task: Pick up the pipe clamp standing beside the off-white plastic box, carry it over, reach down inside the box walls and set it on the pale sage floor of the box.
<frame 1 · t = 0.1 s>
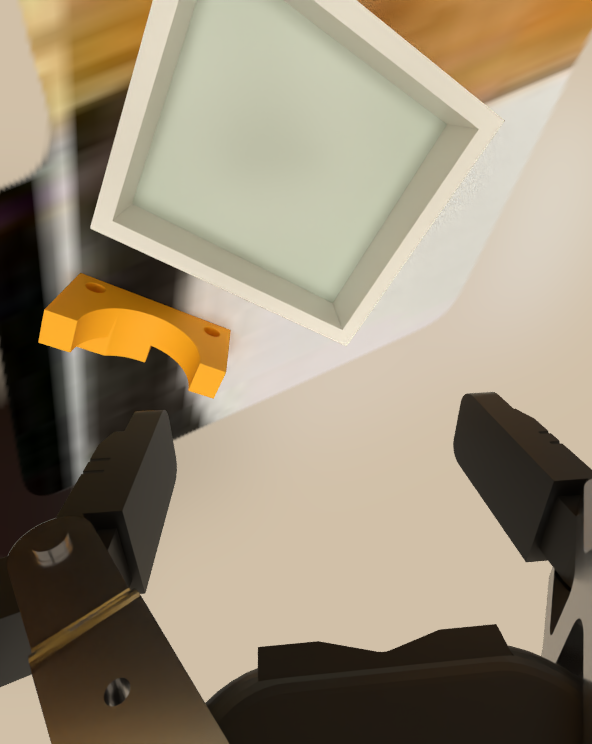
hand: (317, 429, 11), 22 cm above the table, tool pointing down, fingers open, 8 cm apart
pipe clamp: (153, 323, 34), on the table
walled box: (285, 162, 27), on the table
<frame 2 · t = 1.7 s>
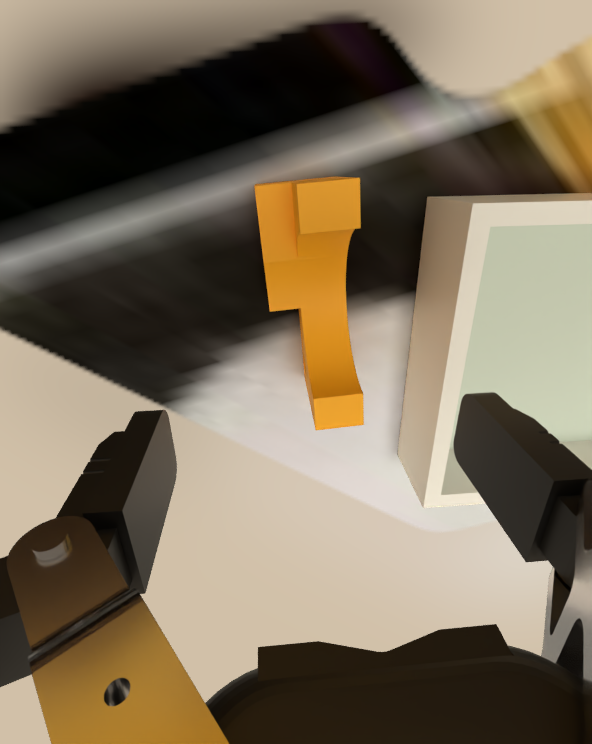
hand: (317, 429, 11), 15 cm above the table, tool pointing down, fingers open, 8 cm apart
pipe clamp: (303, 287, 25), on the table
walled box: (526, 339, 27), on the table
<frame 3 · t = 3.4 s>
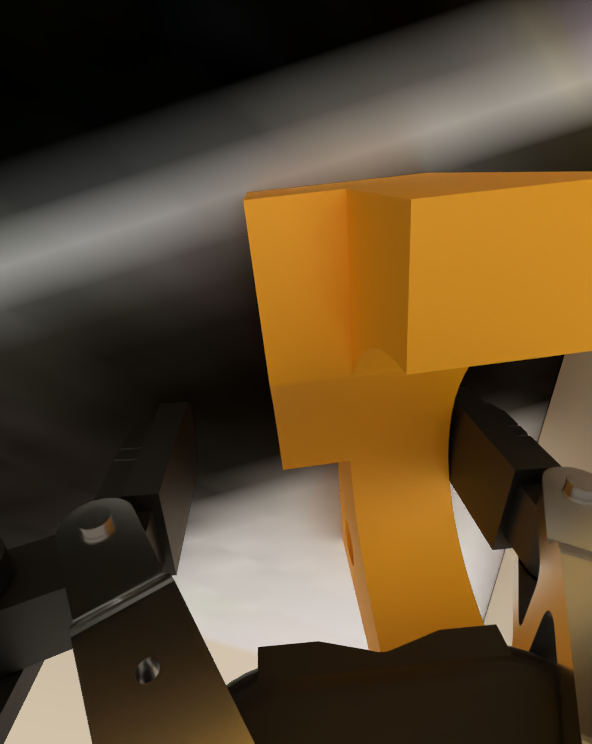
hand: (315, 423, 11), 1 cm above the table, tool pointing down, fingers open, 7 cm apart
pipe clamp: (345, 393, 13), on the table, touching gripper
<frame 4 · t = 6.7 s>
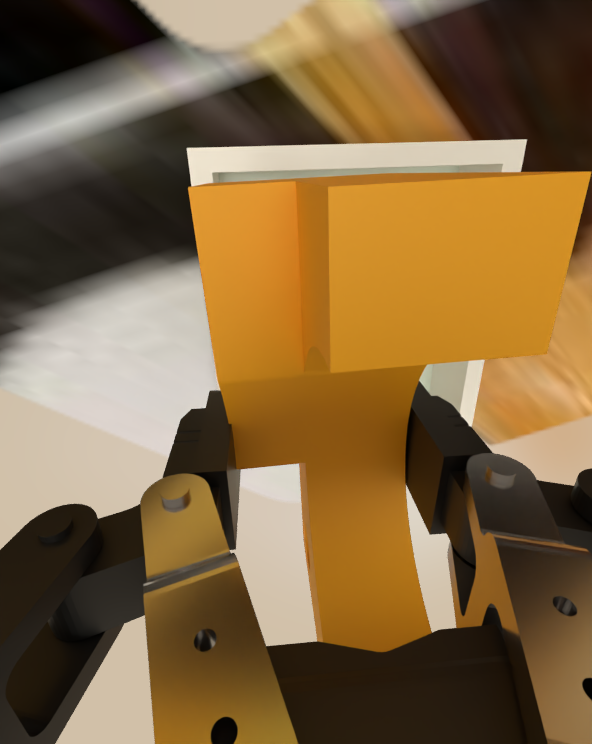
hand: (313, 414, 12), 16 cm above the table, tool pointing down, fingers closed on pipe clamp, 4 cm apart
pipe clamp: (308, 394, 12), point 16 cm above the table, touching gripper
walled box: (336, 301, 28), on the table
when the fingers open (3 cm above the table, at t = 9.8 s): pipe clamp drops 1 cm, resting on walled box.
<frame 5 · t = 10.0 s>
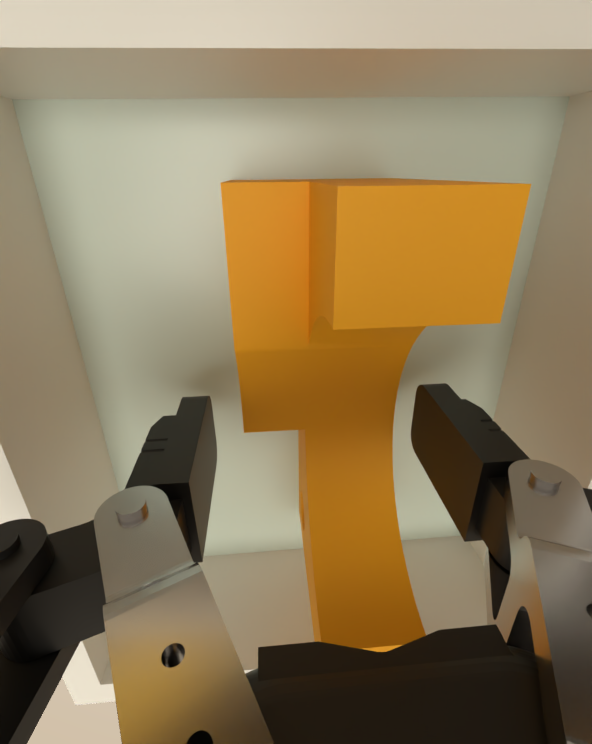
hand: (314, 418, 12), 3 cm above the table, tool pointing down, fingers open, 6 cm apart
pipe clamp: (309, 373, 14), point 1 cm above the table, touching walled box
walled box: (302, 368, 15), on the table
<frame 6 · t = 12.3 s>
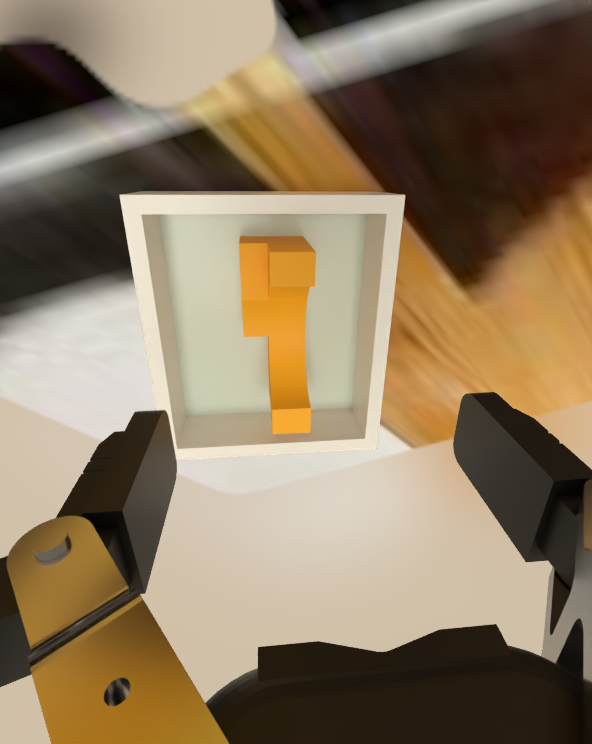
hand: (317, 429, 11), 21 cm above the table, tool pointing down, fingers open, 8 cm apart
pipe clamp: (272, 318, 31), point 1 cm above the table, touching walled box
walled box: (267, 317, 32), on the table
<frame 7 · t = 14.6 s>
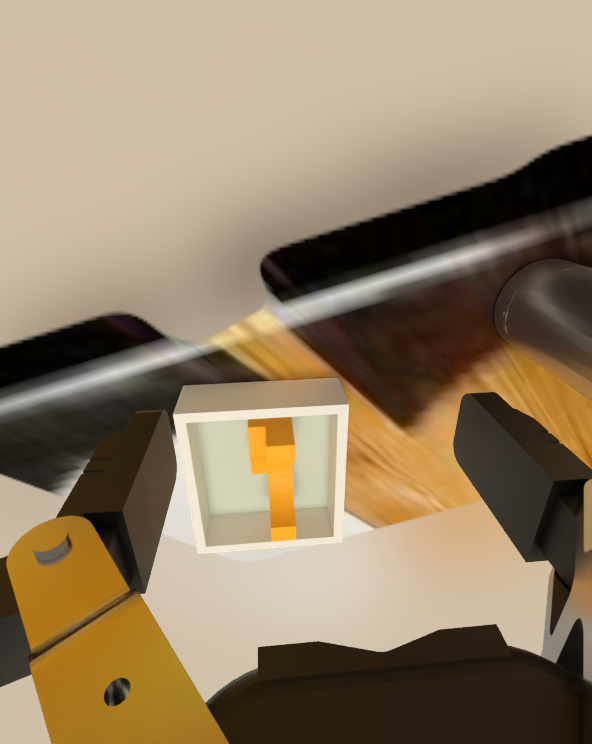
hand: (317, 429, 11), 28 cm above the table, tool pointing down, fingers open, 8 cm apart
pipe clamp: (271, 454, 45), point 1 cm above the table, touching walled box
walled box: (266, 451, 46), on the table
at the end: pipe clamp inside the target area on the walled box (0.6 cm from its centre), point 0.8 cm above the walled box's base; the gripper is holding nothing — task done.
